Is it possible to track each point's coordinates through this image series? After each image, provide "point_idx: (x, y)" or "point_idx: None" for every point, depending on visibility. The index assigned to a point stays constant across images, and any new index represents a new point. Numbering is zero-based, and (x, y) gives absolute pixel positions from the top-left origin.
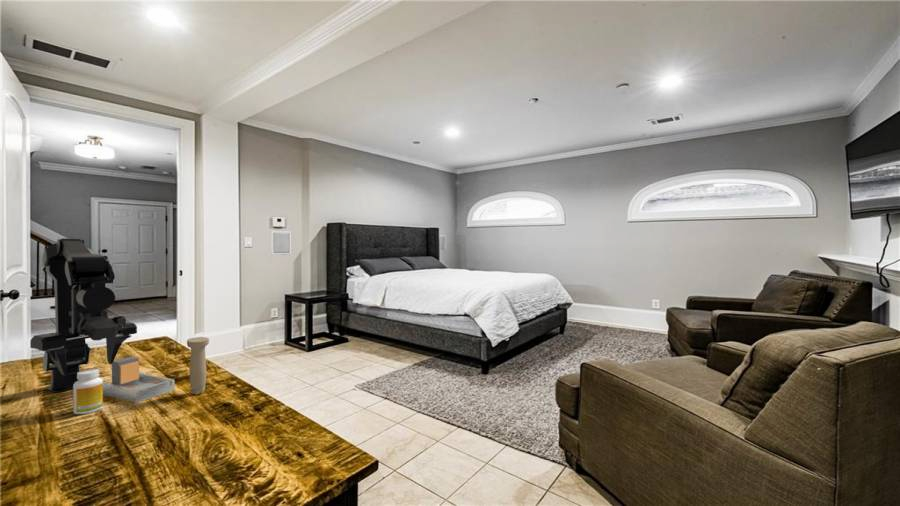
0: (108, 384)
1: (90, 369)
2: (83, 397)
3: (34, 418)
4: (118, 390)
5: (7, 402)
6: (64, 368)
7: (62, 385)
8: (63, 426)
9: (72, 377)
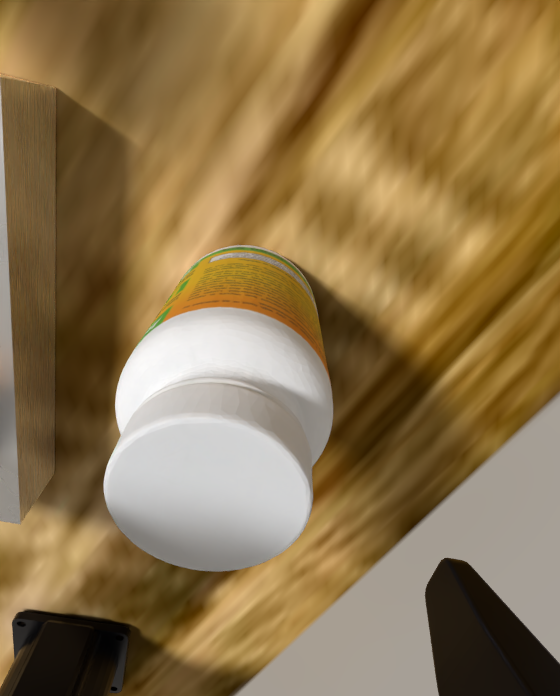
0: (11, 457)
1: (144, 542)
2: (311, 318)
3: (379, 463)
4: (26, 332)
5: (253, 677)
6: (522, 642)
7: (94, 658)
8: (474, 214)
9: (48, 680)
